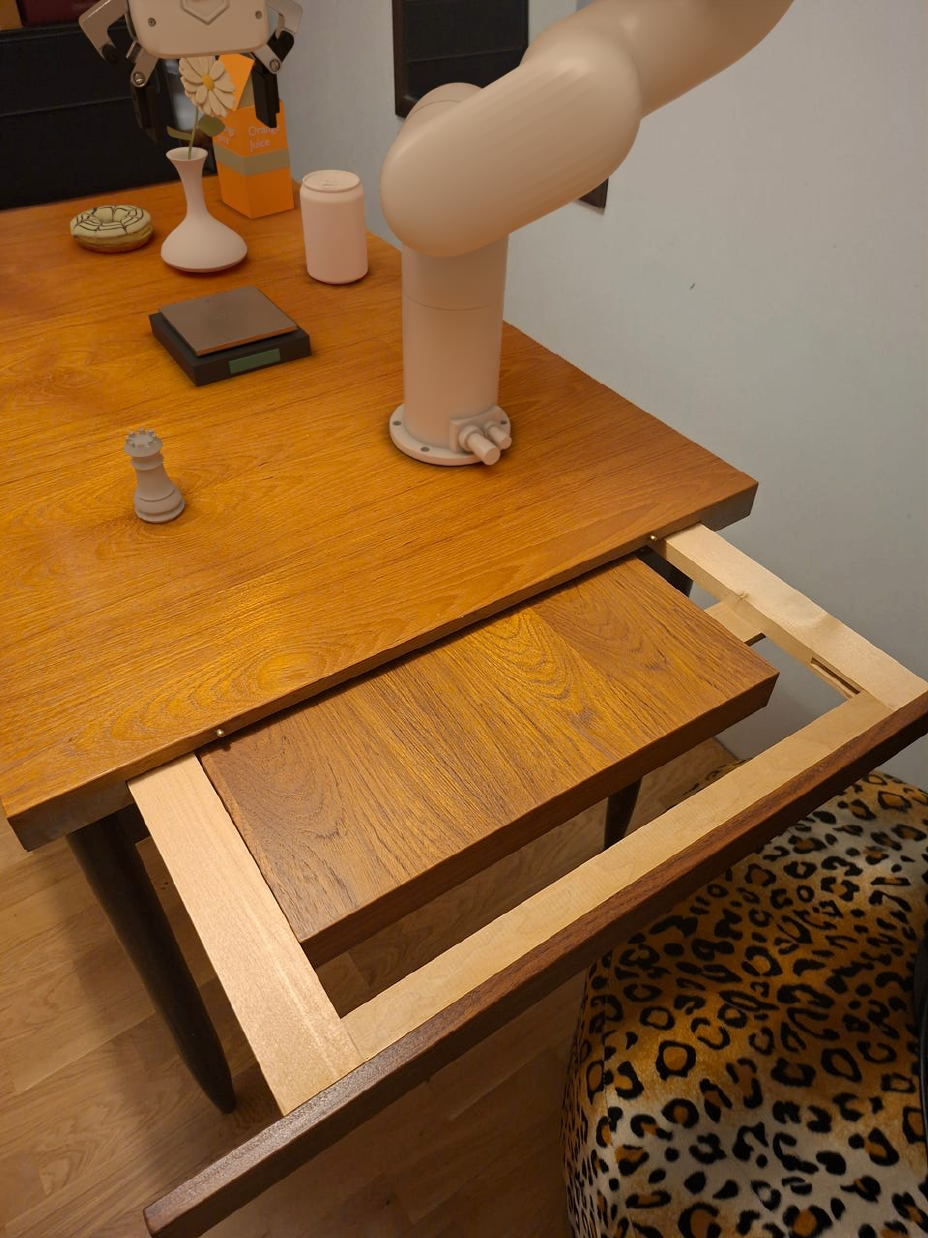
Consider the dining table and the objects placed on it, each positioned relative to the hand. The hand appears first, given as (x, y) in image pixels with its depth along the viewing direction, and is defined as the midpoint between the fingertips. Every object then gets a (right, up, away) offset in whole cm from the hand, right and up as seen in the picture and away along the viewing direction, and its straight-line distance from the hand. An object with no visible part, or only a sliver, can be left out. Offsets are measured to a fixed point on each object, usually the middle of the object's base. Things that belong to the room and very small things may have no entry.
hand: (212, 130), depth 73 cm
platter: (-6, -7, +28) cm, 29 cm away
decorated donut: (-28, +12, +50) cm, 58 cm away
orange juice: (-11, +23, +61) cm, 66 cm away
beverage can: (+4, +5, +44) cm, 45 cm away
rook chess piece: (-7, -31, +8) cm, 33 cm away
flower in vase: (-13, +8, +46) cm, 48 cm away
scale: (-6, -9, +30) cm, 32 cm away
